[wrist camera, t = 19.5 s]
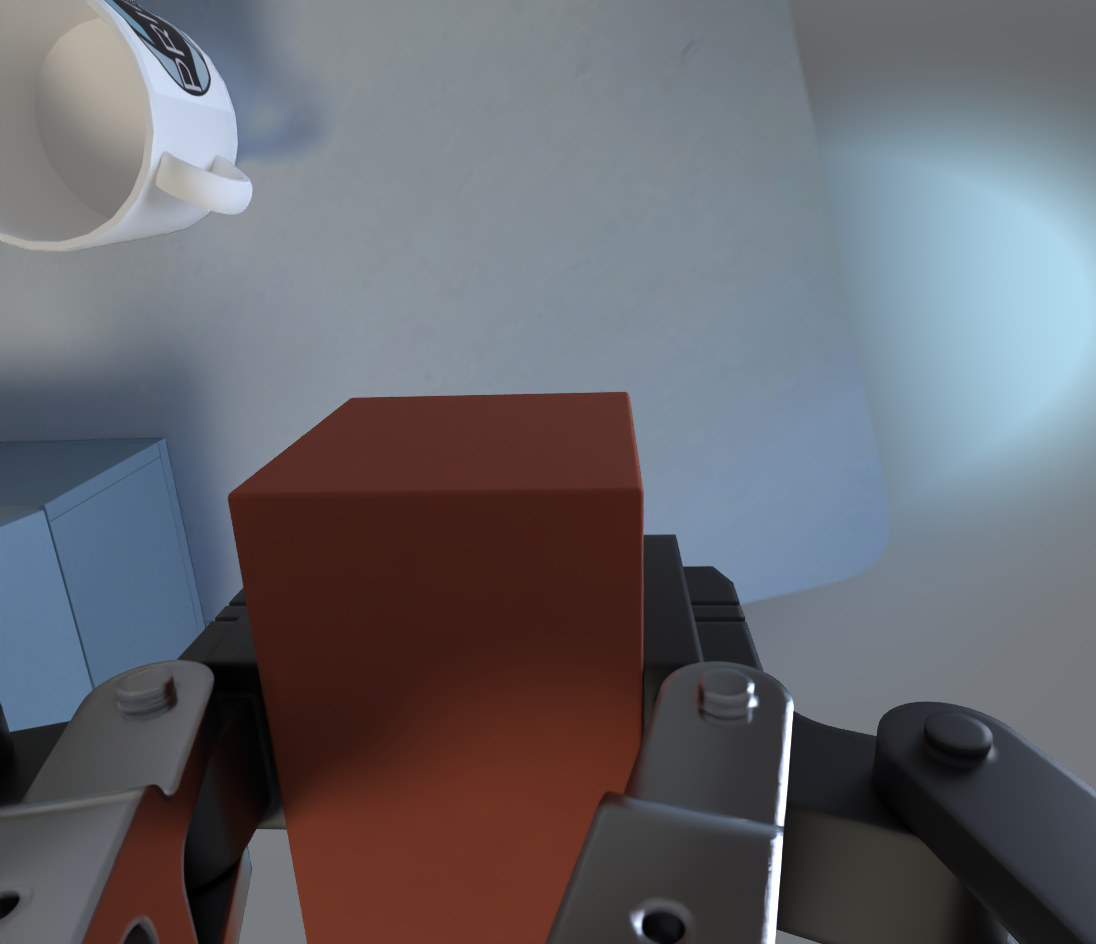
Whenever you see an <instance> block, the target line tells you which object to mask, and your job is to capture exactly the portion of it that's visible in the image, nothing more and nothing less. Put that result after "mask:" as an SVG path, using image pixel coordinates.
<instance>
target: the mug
mask: <svg viewBox="0 0 1096 944" xmlns="http://www.w3.org/2000/svg"><path fill="white" fill-rule="evenodd" d="M237 147H238V138H237V128H236V118H235V112H234V109H233V106H232V103H231V100H230V97H229V94H228V91H227V88H226V85H225V83H224V81H223V80H222V78H221V76H220V75H219V73H218V71H217V70H216V68H215V66H214V65H213V63H212V61H211V60H210V58H209V57H208V56H207V54H206V53H205V52H204V51H203V50H202V49H201V48H200V47H199V46H198V45H197V44H196V43H195V42H194V41H193V40H192V39H191V38H190V37H189V36H188V35H187V34H186V33H184V32H183V31H181V30H180V29H178V28H176V27H175V26H173V25H172V24H170V23H169V22H167V21H165V20H164V19H162V18H161V17H159V16H157V15H155V14H153V13H151V12H149V11H147V10H145V9H143V8H141V7H139V6H137V5H135V4H133V3H131V2H129V1H127V0H0V242H3V243H7V244H10V245H13V246H17V247H20V248H23V249H27V250H30V251H38V252H70V251H75V250H81V249H87V248H92V247H98V246H103V245H109V244H114V243H120V242H125V241H131V240H136V239H142V238H147V237H153V236H158V235H164V234H168V233H172V232H175V231H179V230H183V229H186V228H188V227H190V226H191V225H193V224H194V223H196V222H198V221H199V220H201V219H202V218H204V217H205V216H207V215H208V214H209V213H210V211H214V212H219V213H224V214H239V213H241V212H242V211H244V210H245V209H246V208H247V206H248V204H249V202H250V200H251V198H252V189H253V187H252V184H251V182H250V179H249V178H248V177H247V176H246V175H245V174H244V173H243V172H241V171H240V170H239V169H238V168H237V167H235V161H236V154H237Z"/></svg>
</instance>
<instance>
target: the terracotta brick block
mask: <svg viewBox="0 0 1096 944" xmlns="http://www.w3.org/2000/svg"><path fill="white" fill-rule="evenodd" d="M228 502H229V508H230V513H231V519H232V525H233V530H234V536H235V541H236V547H237V553H238V558H239V564H240V569H241V575H242V581H243V586H244V592H245V597H246V603H247V609H248V614H249V620H250V625H251V631H252V637H253V642H254V648H255V653H256V659H257V665H258V670H259V676H260V682H261V687H262V693H263V698H264V704H265V710H266V715H267V721H268V726H269V732H270V738H271V743H272V749H273V754H274V760H275V766H276V771H277V777H278V782H279V788H280V794H281V799H282V805H283V810H284V816H285V822H286V827H287V833H288V838H289V844H290V850H291V855H292V861H293V866H294V872H295V878H296V883H297V889H298V894H299V899H300V906H301V911H302V917H303V922H304V928H305V934H306V939H307V944H545V941H546V939H547V936H548V934H549V931H550V928H551V926H552V923H553V921H554V918H555V915H556V913H557V910H558V908H559V905H560V902H561V900H562V897H563V895H564V892H565V889H566V887H567V884H568V882H569V879H570V876H571V874H572V871H573V869H574V866H575V863H576V861H577V858H578V856H579V853H580V850H581V848H582V845H583V843H584V840H585V837H586V835H587V832H588V830H589V827H590V824H591V822H592V819H593V817H594V814H595V811H596V809H597V806H598V804H599V802H600V800H601V798H602V796H603V795H604V794H605V792H607V791H613V792H618V793H624V791H625V788H626V785H627V782H628V779H629V776H630V773H631V771H632V768H633V765H634V762H635V759H636V756H637V753H638V750H639V748H640V745H641V742H642V739H643V517H644V492H643V485H642V479H641V472H640V465H639V458H638V451H637V444H636V437H635V431H634V424H633V417H632V410H631V403H630V396H629V394H628V393H626V392H603V393H557V394H511V395H464V396H418V397H371V398H351V399H349V400H348V401H347V402H346V403H344V404H343V405H342V406H340V407H339V408H338V409H337V410H335V411H334V412H333V413H332V414H330V415H329V416H328V417H326V418H325V419H324V420H323V421H321V422H320V423H319V424H317V425H316V426H315V427H314V428H312V429H311V430H310V431H309V432H307V433H306V434H305V435H303V436H302V437H301V438H300V439H298V440H297V441H296V442H295V443H293V444H292V445H291V446H289V447H288V448H287V449H286V450H284V451H283V452H282V453H281V454H279V455H278V456H277V457H275V458H274V459H273V460H272V461H270V462H269V463H268V464H267V465H265V466H264V467H263V468H261V469H260V470H259V471H258V472H256V473H255V474H254V475H253V476H251V477H250V478H249V479H247V480H246V481H245V482H244V483H242V484H241V485H240V486H238V487H237V488H236V489H235V490H233V491H232V492H231V493H230V494H229V496H228Z"/></svg>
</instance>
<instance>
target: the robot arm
mask: <svg viewBox="0 0 1096 944" xmlns="http://www.w3.org/2000/svg"><path fill="white" fill-rule="evenodd" d="M256 829H287V827H286V822H285V816H284V810H283V805H282V799H281V794H280V788H279V782H278V777H277V771H276V766H275V760H274V754H273V749H272V743H271V738H270V732H269V726H268V721H267V715H266V710H265V704H264V698H263V693H262V687H261V682H260V676H259V670H258V665H257V659H256V653H255V648H254V642H253V637H252V631H251V625H250V620H249V614H248V609H247V603H246V597H245V592H244V587H243V588H242V589H241V591H240V592H239V593H238V594H237V595H236V596H235V597H234V598H233V599H232V600H231V601H230V602H229V606H226V607H225V608H224V609H223V610H222V611H221V612H220V613H219V614H218V615H217V616H216V618H215V622H211V623H210V624H209V625H208V626H207V627H206V628H205V629H204V631H203V632H202V633H201V634H200V635H199V636H198V637H197V638H196V639H195V640H194V641H193V642H192V644H191V645H190V646H189V647H188V648H187V649H186V650H185V651H184V652H183V653H182V654H181V655H180V656H179V658H178V659H177V660H168V661H160V662H154V663H150V664H146V665H142V666H139V667H136V668H133V669H130V670H127V671H125V672H122V673H120V674H118V675H116V676H114V677H112V678H110V679H108V680H106V681H105V682H103V683H101V684H100V685H99V686H97V687H96V688H95V689H93V690H92V691H91V692H90V693H89V694H88V695H87V696H86V697H85V698H84V699H83V701H82V702H81V704H80V705H79V707H78V709H77V710H76V712H75V714H74V715H73V717H72V719H71V720H70V721H67V722H61V723H56V724H50V725H45V726H40V727H34V728H29V729H23V730H18V731H12V732H10V731H9V728H8V724H7V721H6V718H5V715H4V711H3V708H2V705H1V703H0V944H238V943H239V937H240V932H241V927H242V922H243V916H244V910H245V906H246V900H247V895H248V890H249V884H250V880H251V873H252V866H251V861H250V856H249V851H248V846H247V845H248V843H249V842H250V840H251V838H252V836H253V834H254V832H255V831H256ZM777 930H780V931H783V932H786V933H790V934H793V935H796V936H799V937H802V938H805V939H808V940H812V941H815V942H818V943H821V944H1017V943H1016V942H1015V941H1014V940H1013V939H1012V938H1011V937H1010V936H1009V935H1008V934H1009V933H1010V934H1011V935H1012V936H1013V937H1014V939H1015V940H1016V941H1017V942H1018V943H1019V944H1096V791H1095V790H1094V789H1092V788H1091V787H1090V786H1088V785H1087V784H1085V783H1084V782H1083V781H1082V780H1080V779H1079V778H1078V777H1076V776H1075V775H1074V774H1072V773H1071V772H1070V771H1068V770H1067V769H1065V768H1064V767H1063V766H1061V765H1060V764H1059V763H1058V762H1056V761H1055V760H1054V759H1052V758H1051V757H1050V756H1048V755H1047V754H1046V753H1044V752H1043V751H1042V750H1040V749H1039V748H1037V747H1036V746H1035V745H1034V744H1032V743H1031V742H1030V741H1028V740H1027V739H1026V738H1024V737H1023V736H1022V735H1020V734H1019V733H1018V732H1016V731H1015V730H1014V729H1012V728H1011V727H1009V726H1008V725H1006V724H1004V723H1003V722H1001V721H999V720H997V719H995V718H993V717H991V716H988V715H986V714H984V713H982V712H979V711H976V710H973V709H970V708H966V707H962V706H958V705H954V704H947V703H941V702H915V703H908V704H904V705H901V706H897V707H895V708H893V709H891V710H889V711H888V712H887V713H886V714H885V715H883V717H882V719H881V720H880V722H879V725H878V730H877V736H873V735H868V734H863V733H858V732H854V731H849V730H844V729H839V728H836V727H832V726H828V725H824V724H821V723H818V722H816V721H813V720H810V719H808V718H806V717H804V716H801V715H800V714H798V713H796V712H795V711H793V701H792V698H791V695H790V693H789V692H788V691H787V689H786V688H785V687H784V686H783V685H782V684H781V683H780V682H779V681H778V680H776V679H775V678H774V677H772V676H771V675H769V674H767V673H765V672H764V671H763V668H762V666H761V663H760V660H759V657H758V654H757V651H756V648H755V645H754V642H753V639H752V637H751V634H750V631H749V628H748V625H747V623H746V622H745V616H744V614H743V610H742V608H741V606H740V602H739V599H738V596H737V593H736V590H735V587H734V584H733V582H731V581H730V580H729V579H728V578H726V577H725V576H724V575H723V574H721V573H720V572H719V571H718V570H717V569H715V568H714V567H713V566H701V567H683V565H682V561H681V556H680V552H679V547H678V543H677V538H676V535H643V739H642V742H641V745H640V748H639V750H638V753H637V756H636V759H635V762H634V765H633V768H632V771H631V773H630V776H629V779H628V782H627V785H626V788H625V791H624V793H618V792H613V791H607V792H605V794H604V795H603V796H602V798H601V800H600V802H599V804H598V806H597V809H596V811H595V814H594V817H593V819H592V822H591V824H590V827H589V830H588V832H587V835H586V837H585V840H584V843H583V845H582V848H581V850H580V853H579V856H578V858H577V861H576V863H575V866H574V869H573V871H572V874H571V876H570V879H569V882H568V884H567V887H566V889H565V892H564V895H563V897H562V900H561V902H560V905H559V908H558V910H557V913H556V915H555V918H554V921H553V923H552V926H551V928H550V931H549V934H548V936H547V939H546V941H545V944H776V933H777Z"/></svg>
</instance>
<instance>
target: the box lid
mask: <svg viewBox="0 0 1096 944" xmlns="http://www.w3.org/2000/svg"><path fill="white" fill-rule="evenodd" d="M92 690H93V689H92V685H91V681H90V678H89V674H88V670H87V667H86V663H85V659H84V656H83V652H82V648H81V645H80V641H79V637H78V634H77V630H76V626H75V623H74V619H73V615H72V612H71V608H70V605H69V601H68V597H67V594H66V590H65V586H64V583H63V579H62V575H61V572H60V568H59V564H58V561H57V557H56V553H55V550H54V546H53V542H52V539H51V535H50V531H49V528H48V524H47V520H46V517H45V513H44V511H43V510H38V509H28V510H26V511H23V512H21V513H18V514H15V515H13V516H10V517H8V518H5V519H3V520H0V703H1V705H2V708H3V711H4V715H5V718H6V721H7V724H8V728H9V731H10V732H12V731H18V730H23V729H29V728H34V727H40V726H45V725H50V724H56V723H61V722H67V721H70V720H71V719H72V717H73V715H74V714H75V712H76V710H77V709H78V707H79V705H80V704H81V702H82V701H83V699H84V698H85V697H86V696H87V695H88V694H89V693H90V692H91V691H92Z"/></svg>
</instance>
